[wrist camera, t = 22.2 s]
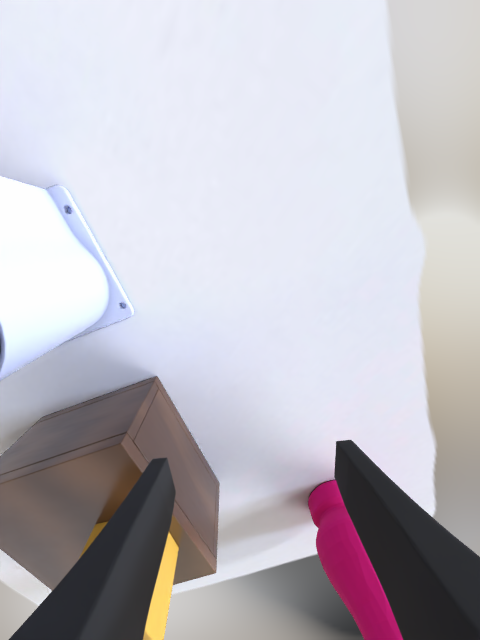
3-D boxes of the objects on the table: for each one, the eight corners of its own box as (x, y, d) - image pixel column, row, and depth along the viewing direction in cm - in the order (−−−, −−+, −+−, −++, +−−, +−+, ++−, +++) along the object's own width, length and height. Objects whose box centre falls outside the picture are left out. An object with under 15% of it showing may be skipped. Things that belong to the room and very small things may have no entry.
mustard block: (95, 523, 15) (44, 629, 11) (156, 509, 15) (128, 611, 11) (122, 560, 17) (87, 665, 12) (179, 547, 16) (162, 650, 12)
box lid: (83, 597, 19) (78, 611, 19) (-43, 489, 15) (-58, 503, 14) (217, 559, 18) (216, 573, 18) (126, 432, 14) (121, 443, 13)
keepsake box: (123, 513, 25) (92, 595, 19) (42, 416, 20) (-33, 486, 15) (219, 483, 24) (217, 559, 18) (157, 375, 20) (127, 431, 14)
